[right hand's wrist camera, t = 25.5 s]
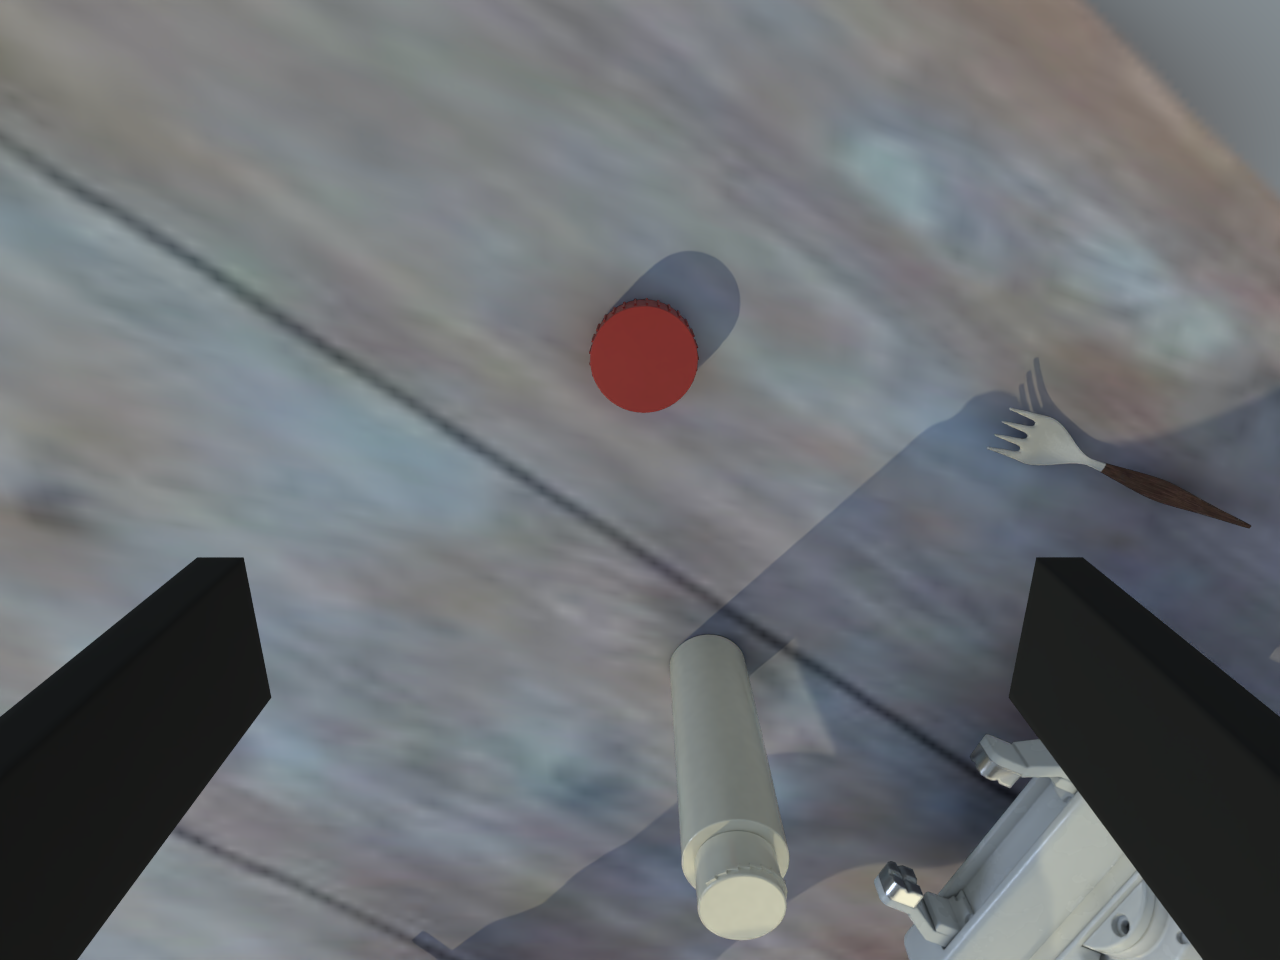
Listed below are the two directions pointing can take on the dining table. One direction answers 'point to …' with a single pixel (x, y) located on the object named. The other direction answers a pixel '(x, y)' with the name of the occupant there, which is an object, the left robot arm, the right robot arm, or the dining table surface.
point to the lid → (643, 356)
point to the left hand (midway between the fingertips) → (930, 819)
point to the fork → (1098, 465)
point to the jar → (725, 793)
